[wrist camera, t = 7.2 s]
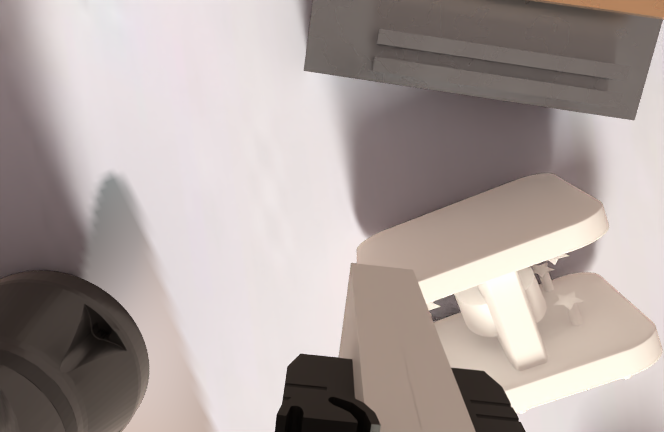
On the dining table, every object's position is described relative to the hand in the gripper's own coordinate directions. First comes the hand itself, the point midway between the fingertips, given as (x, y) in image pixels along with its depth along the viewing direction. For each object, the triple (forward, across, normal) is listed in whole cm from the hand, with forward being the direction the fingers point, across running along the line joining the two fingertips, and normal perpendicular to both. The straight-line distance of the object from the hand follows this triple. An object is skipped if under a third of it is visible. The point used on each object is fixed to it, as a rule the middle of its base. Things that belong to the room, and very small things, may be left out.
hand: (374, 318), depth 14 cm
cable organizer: (+28, +10, -7) cm, 31 cm away
